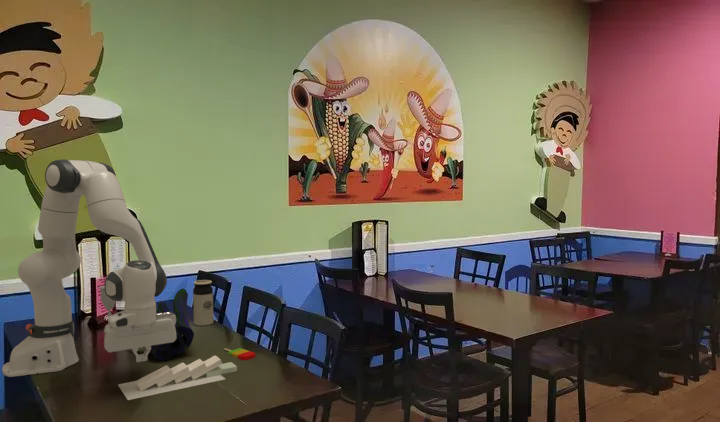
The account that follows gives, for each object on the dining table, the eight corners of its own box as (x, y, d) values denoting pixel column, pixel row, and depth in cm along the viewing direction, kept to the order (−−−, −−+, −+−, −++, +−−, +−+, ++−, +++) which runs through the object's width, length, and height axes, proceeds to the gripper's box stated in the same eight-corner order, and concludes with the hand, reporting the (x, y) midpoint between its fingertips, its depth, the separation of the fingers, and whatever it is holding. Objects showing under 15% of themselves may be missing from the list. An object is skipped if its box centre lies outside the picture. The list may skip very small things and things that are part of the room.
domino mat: (127, 401, 165) (127, 400, 165) (117, 385, 177) (117, 384, 177) (225, 380, 181) (225, 379, 181) (210, 367, 193) (210, 366, 193)
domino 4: (191, 375, 180) (220, 359, 184) (186, 371, 184) (215, 355, 189) (193, 380, 180) (222, 363, 185) (188, 375, 184) (216, 359, 189)
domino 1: (139, 386, 171) (171, 369, 176) (135, 381, 175) (166, 365, 180) (141, 391, 171) (173, 374, 176) (137, 385, 176) (168, 369, 181)
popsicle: (244, 362, 199) (244, 356, 199) (217, 353, 209) (217, 348, 209) (257, 358, 203) (256, 352, 203) (230, 349, 213) (230, 344, 213)
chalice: (123, 329, 236) (121, 286, 235) (108, 334, 230) (106, 289, 229) (112, 327, 240) (110, 284, 238) (97, 331, 234) (95, 287, 233)
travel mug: (191, 322, 247) (190, 280, 245) (210, 320, 251) (209, 279, 249) (196, 327, 240) (195, 284, 238) (215, 324, 244) (214, 282, 242)
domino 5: (201, 372, 187) (231, 366, 192) (206, 377, 182) (236, 371, 188) (201, 367, 186) (231, 362, 192) (206, 372, 182) (236, 366, 188)
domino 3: (174, 379, 177) (204, 363, 182) (170, 374, 181) (199, 358, 186) (176, 383, 177) (206, 367, 182) (171, 378, 181) (201, 362, 186)
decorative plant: (152, 388, 199) (131, 343, 222) (221, 349, 209) (194, 310, 232) (128, 344, 188) (109, 302, 212) (201, 305, 198) (175, 269, 222)
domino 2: (156, 383, 174) (187, 366, 179) (152, 378, 178) (183, 362, 183) (158, 387, 174) (189, 371, 179) (154, 382, 178) (184, 366, 183)
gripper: (172, 308, 181) (173, 352, 182) (102, 318, 170) (103, 364, 171) (178, 313, 176) (179, 357, 177) (106, 323, 164) (107, 370, 166)
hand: (141, 360), depth 174 cm, fingers closed
